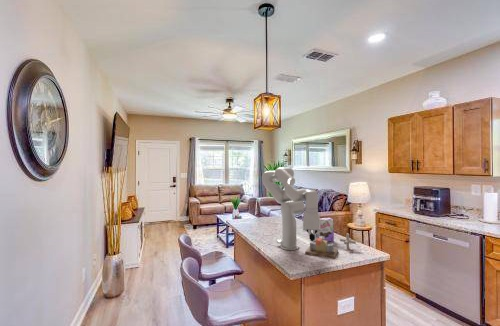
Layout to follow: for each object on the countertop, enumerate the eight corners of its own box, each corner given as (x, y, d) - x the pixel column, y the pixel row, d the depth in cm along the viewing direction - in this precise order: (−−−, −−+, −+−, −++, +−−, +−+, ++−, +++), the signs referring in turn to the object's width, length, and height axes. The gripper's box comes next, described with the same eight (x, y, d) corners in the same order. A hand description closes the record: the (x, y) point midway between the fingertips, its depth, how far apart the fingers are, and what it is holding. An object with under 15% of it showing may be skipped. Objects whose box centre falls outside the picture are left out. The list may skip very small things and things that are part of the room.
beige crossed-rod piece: (343, 245, 176) (342, 231, 177) (357, 248, 170) (357, 233, 170) (337, 249, 169) (337, 234, 169) (353, 252, 162) (353, 236, 162)
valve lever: (319, 239, 164) (319, 235, 164) (324, 239, 162) (324, 235, 162) (315, 244, 152) (315, 240, 152) (320, 245, 150) (320, 241, 151)
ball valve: (309, 251, 162) (309, 239, 162) (311, 248, 167) (311, 237, 167) (332, 254, 156) (332, 242, 156) (333, 251, 161) (333, 239, 161)
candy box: (316, 242, 183) (316, 219, 183) (313, 240, 189) (312, 218, 189) (334, 241, 186) (333, 219, 186) (330, 239, 191) (329, 217, 192)
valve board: (305, 254, 160) (305, 251, 160) (310, 248, 171) (310, 245, 171) (335, 258, 152) (335, 256, 152) (338, 252, 163) (338, 249, 163)
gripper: (298, 210, 155) (298, 241, 155) (323, 212, 149) (324, 243, 149) (300, 209, 162) (301, 237, 162) (324, 210, 156) (325, 240, 156)
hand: (312, 240), depth 155 cm, fingers closed
